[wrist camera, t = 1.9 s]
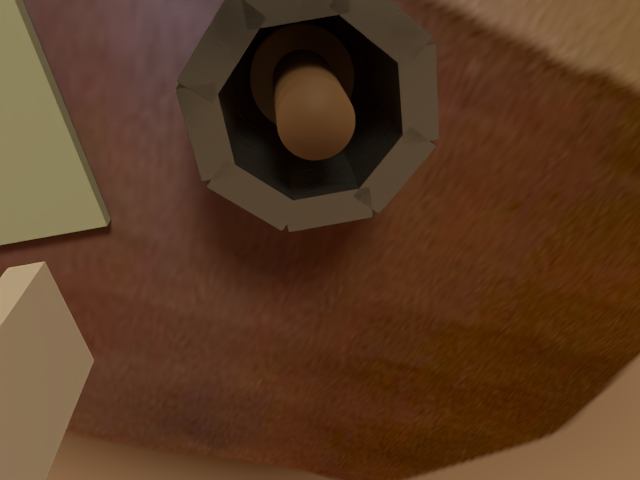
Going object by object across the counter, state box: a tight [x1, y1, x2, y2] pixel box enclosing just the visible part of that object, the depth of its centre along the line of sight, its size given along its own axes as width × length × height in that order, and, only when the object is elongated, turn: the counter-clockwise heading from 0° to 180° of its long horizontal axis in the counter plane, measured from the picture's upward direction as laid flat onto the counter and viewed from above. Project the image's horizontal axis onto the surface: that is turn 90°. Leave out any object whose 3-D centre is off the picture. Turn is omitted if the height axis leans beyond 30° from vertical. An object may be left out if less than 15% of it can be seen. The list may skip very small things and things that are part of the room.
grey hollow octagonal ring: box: [175, 0, 439, 232], centre depth 23 cm, size 10×10×7 cm
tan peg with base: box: [250, 22, 355, 160], centre depth 23 cm, size 5×5×8 cm
